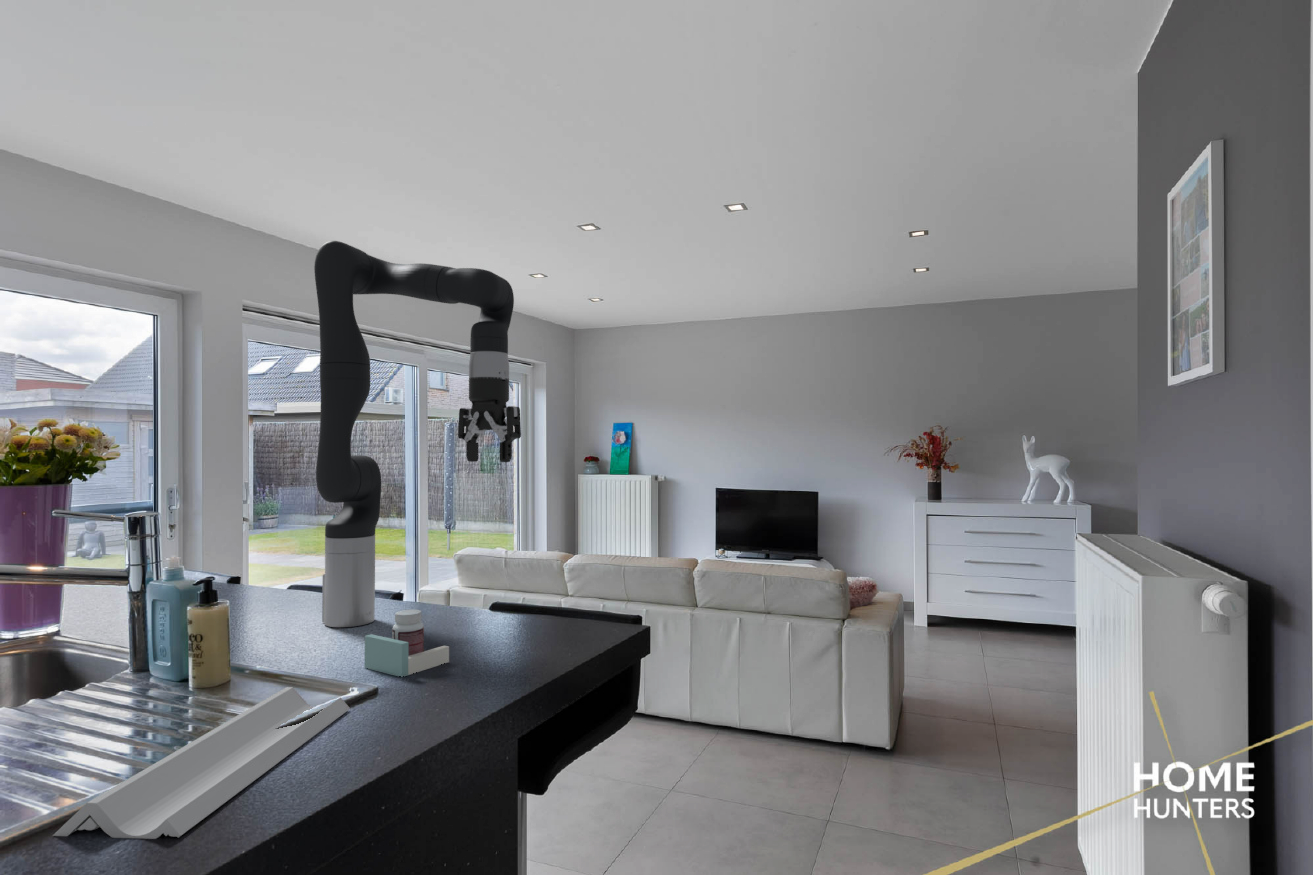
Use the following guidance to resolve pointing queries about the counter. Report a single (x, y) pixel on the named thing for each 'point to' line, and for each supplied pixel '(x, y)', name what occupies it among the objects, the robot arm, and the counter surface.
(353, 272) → the robot arm
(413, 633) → the pill bottle
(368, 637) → the u-shaped bracket
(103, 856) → the counter surface
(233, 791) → the crown molding
